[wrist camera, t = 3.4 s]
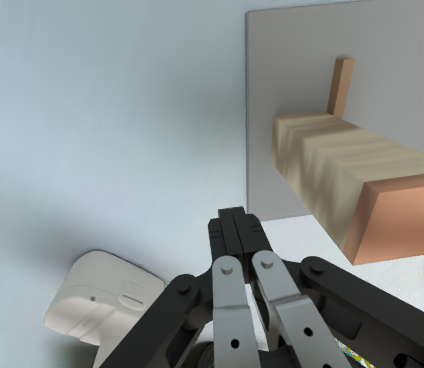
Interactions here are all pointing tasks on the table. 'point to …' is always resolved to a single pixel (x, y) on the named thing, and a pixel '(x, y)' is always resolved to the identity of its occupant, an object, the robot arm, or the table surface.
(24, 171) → the table surface
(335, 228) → the birch block
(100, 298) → the power drill
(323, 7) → the mat
